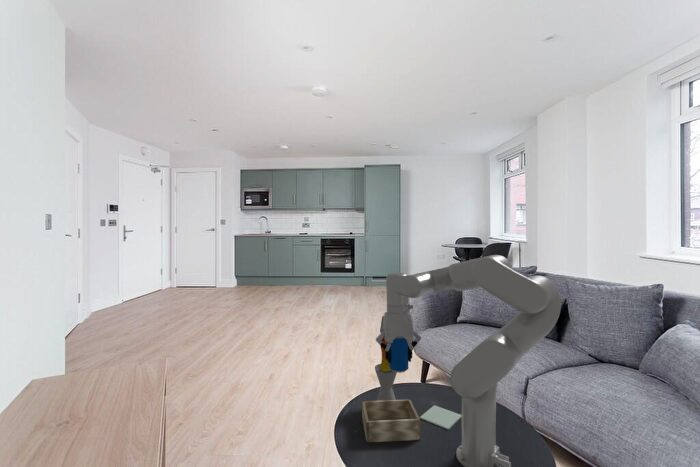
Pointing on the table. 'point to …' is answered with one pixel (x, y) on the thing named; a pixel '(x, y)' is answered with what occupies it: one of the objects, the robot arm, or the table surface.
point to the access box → (390, 428)
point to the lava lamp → (385, 375)
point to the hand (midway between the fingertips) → (398, 360)
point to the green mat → (441, 417)
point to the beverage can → (399, 355)
